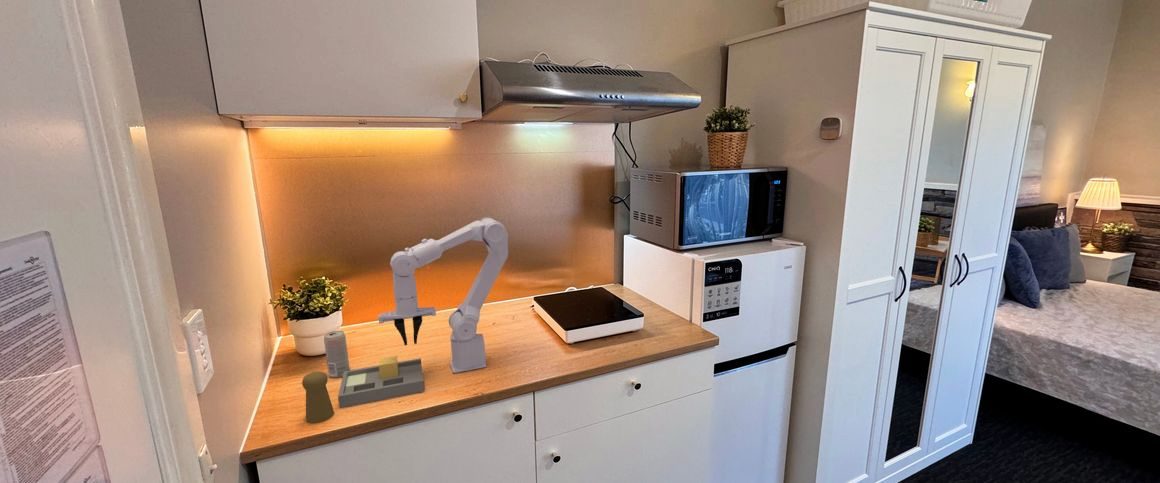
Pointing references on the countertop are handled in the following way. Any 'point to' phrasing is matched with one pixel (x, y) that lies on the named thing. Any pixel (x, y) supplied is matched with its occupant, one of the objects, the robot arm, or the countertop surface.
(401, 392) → the trap tray
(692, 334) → the countertop surface
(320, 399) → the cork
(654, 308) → the countertop surface
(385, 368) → the block
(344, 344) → the energy drink
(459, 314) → the robot arm
